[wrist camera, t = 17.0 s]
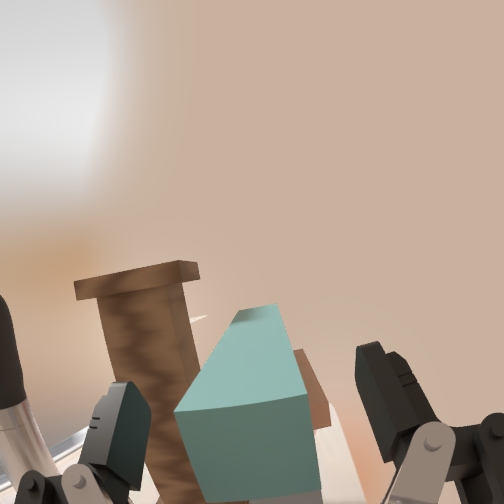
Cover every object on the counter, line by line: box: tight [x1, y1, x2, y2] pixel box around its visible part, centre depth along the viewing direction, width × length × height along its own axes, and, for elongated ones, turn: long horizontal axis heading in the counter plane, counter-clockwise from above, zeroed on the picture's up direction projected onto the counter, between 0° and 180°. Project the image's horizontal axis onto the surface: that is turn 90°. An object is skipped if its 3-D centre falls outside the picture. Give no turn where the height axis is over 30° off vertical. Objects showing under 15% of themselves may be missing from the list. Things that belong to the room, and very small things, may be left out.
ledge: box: [249, 349, 331, 504], centre depth 20 cm, size 7×12×22 cm, turn 178°
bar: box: [174, 304, 322, 503], centre depth 20 cm, size 4×24×4 cm, turn 178°
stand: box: [74, 260, 249, 504], centre depth 31 cm, size 12×8×32 cm, turn 88°
